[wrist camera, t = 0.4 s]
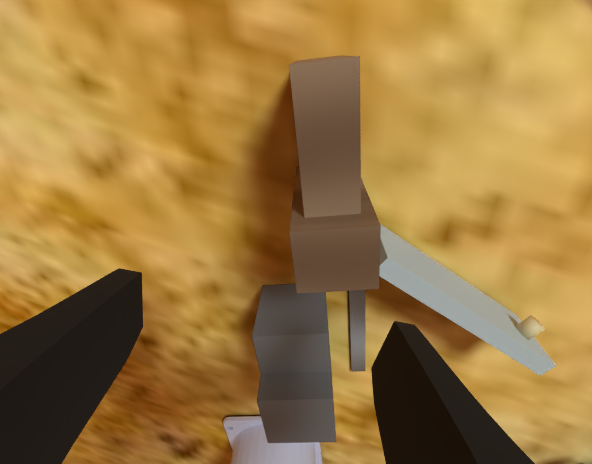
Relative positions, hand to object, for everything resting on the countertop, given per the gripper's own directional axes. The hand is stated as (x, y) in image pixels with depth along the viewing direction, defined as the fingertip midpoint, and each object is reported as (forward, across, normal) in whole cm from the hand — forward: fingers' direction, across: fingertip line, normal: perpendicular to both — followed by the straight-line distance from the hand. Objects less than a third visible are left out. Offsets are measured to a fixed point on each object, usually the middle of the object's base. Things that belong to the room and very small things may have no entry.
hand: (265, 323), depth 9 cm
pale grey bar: (+9, -10, +2) cm, 14 cm away
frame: (+10, -4, +3) cm, 11 cm away
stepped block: (+10, -3, +9) cm, 14 cm away
